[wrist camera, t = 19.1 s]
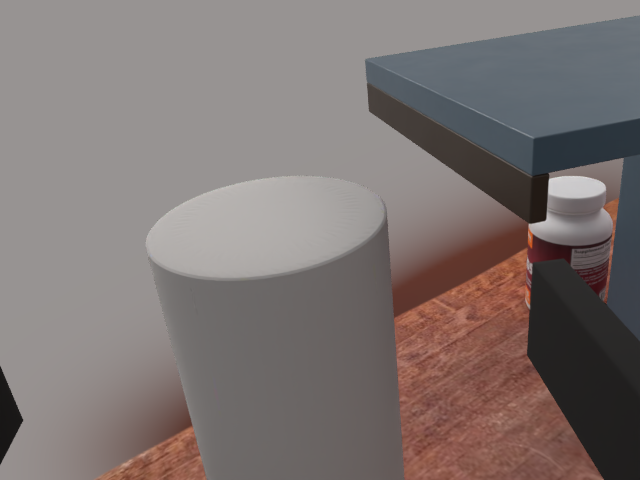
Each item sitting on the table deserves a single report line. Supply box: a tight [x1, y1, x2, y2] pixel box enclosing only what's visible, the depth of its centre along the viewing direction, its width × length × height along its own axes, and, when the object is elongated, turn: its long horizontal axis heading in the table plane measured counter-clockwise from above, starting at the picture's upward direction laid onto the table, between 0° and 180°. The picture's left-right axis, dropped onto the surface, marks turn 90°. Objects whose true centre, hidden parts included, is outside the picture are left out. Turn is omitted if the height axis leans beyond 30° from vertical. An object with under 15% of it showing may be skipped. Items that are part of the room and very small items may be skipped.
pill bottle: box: [525, 176, 613, 309], centre depth 49 cm, size 6×6×11 cm
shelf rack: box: [365, 16, 640, 341], centre depth 32 cm, size 18×16×24 cm
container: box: [146, 176, 404, 480], centre depth 30 cm, size 10×10×20 cm
